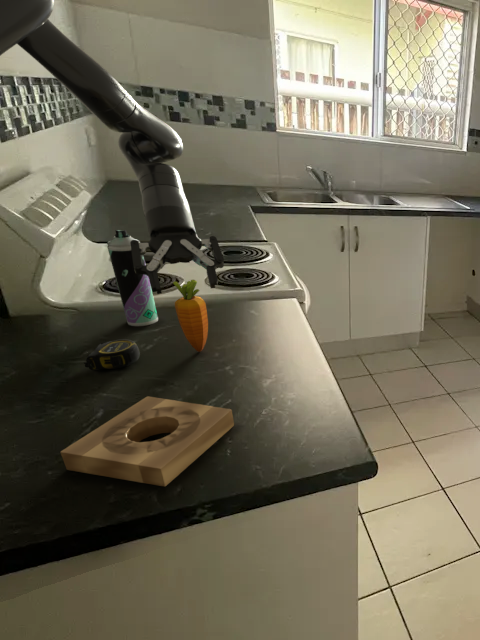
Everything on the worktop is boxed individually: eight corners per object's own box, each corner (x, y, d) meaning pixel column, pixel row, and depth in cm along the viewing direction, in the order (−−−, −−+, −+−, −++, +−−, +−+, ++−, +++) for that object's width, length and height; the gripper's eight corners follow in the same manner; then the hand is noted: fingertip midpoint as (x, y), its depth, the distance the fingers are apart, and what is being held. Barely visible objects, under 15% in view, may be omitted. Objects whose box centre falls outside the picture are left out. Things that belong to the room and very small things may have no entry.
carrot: (178, 353, 92) (162, 280, 86) (202, 344, 97) (188, 273, 90) (197, 359, 91) (182, 285, 85) (220, 349, 95) (207, 278, 89)
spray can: (134, 328, 100) (110, 234, 92) (122, 320, 103) (98, 229, 94) (163, 321, 104) (142, 230, 96) (151, 314, 107) (130, 225, 98)
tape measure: (104, 356, 89) (98, 338, 87) (147, 354, 91) (142, 337, 89) (87, 374, 83) (81, 355, 81) (133, 372, 85) (128, 353, 83)
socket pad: (66, 470, 62) (59, 451, 61) (151, 412, 75) (147, 396, 74) (165, 487, 61) (160, 468, 60) (234, 425, 74) (231, 409, 73)
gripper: (119, 204, 85) (137, 284, 82) (210, 203, 93) (230, 275, 90) (125, 227, 91) (142, 303, 88) (210, 224, 99) (229, 293, 96)
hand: (186, 289), depth 89 cm, fingers open, 8 cm apart
